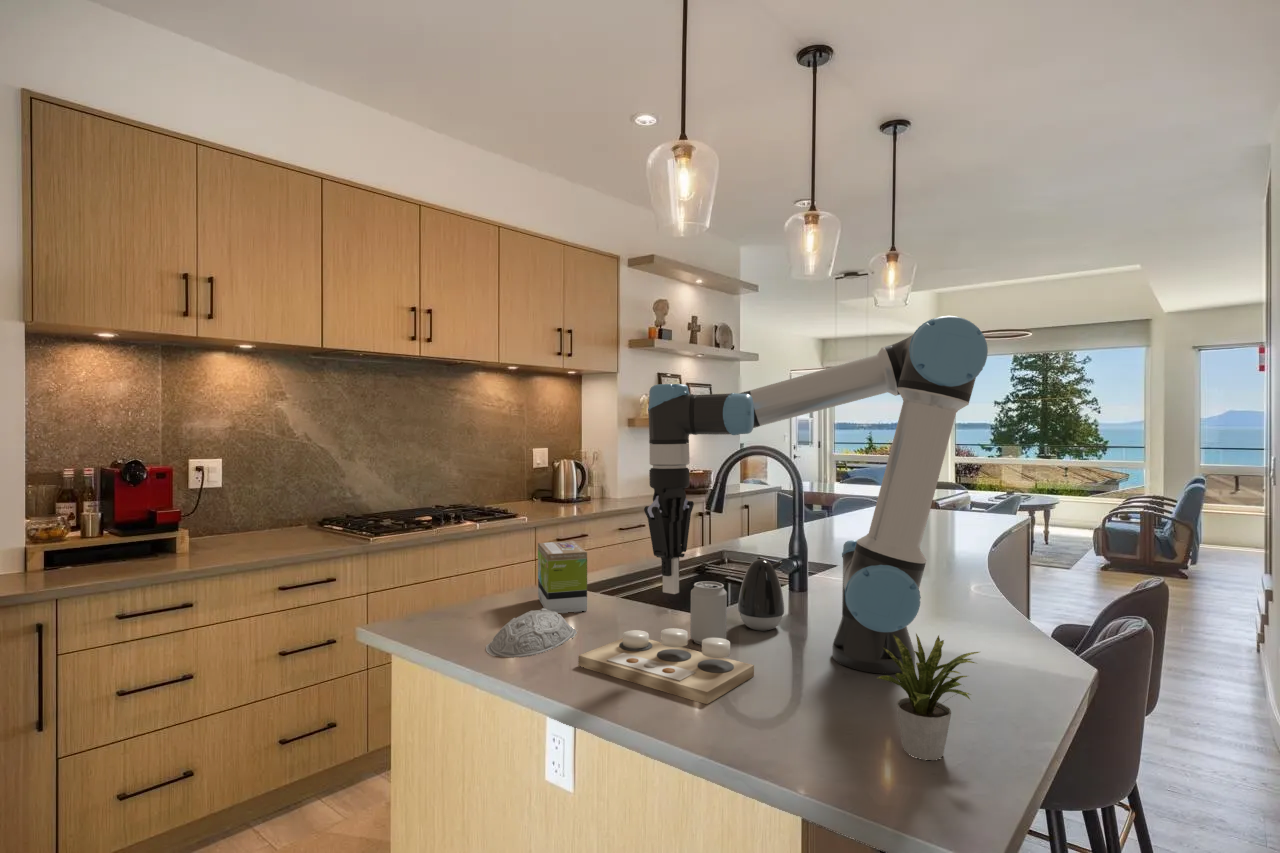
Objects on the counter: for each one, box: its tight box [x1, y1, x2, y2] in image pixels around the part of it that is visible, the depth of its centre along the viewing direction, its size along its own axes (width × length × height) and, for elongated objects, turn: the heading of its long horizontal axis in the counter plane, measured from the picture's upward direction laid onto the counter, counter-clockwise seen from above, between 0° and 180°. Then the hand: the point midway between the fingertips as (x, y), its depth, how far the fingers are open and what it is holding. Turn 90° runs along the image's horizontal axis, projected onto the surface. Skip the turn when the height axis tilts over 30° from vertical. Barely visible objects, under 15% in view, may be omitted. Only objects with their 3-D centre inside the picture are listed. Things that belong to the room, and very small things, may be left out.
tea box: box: [537, 540, 588, 614], centre depth 171 cm, size 15×10×15 cm
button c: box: [622, 629, 650, 649], centre depth 135 cm, size 5×5×2 cm
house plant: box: [877, 633, 980, 761], centre depth 95 cm, size 14×14×16 cm
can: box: [689, 580, 728, 646], centre depth 144 cm, size 8×8×12 cm
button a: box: [701, 638, 731, 658], centre depth 124 cm, size 5×5×2 cm
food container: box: [485, 607, 578, 658], centre depth 145 cm, size 16×25×7 cm, turn 159°
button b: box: [660, 627, 689, 648], centre depth 129 cm, size 5×5×2 cm
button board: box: [577, 637, 755, 705], centre depth 127 cm, size 28×16×2 cm, turn 53°
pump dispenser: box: [737, 558, 785, 632], centre depth 155 cm, size 10×10×15 cm
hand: (670, 592), depth 130 cm, fingers closed
